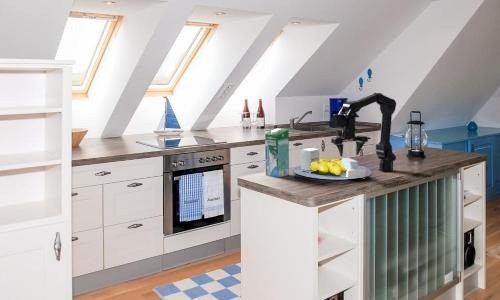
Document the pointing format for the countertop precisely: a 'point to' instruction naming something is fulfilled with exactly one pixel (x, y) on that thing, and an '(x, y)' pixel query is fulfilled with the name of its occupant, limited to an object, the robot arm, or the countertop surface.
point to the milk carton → (277, 152)
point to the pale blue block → (349, 163)
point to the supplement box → (309, 157)
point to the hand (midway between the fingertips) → (349, 155)
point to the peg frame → (355, 173)
